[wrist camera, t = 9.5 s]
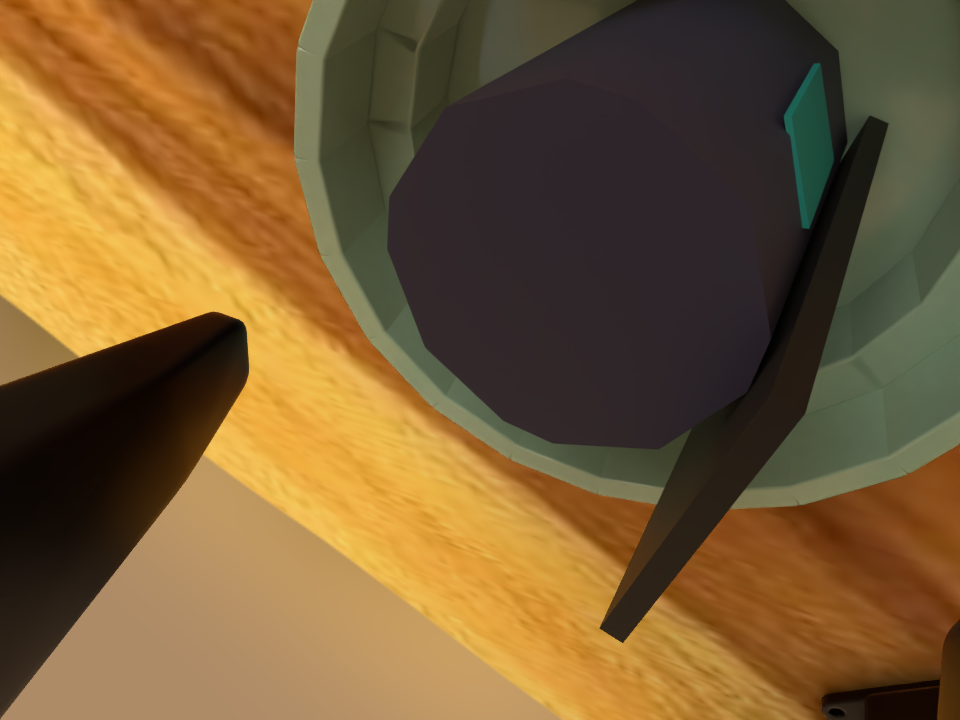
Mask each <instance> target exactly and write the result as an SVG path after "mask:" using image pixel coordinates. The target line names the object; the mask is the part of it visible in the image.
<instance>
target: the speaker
mask: <svg viewBox="0 0 960 720" xmlns="http://www.w3.org/2000/svg"><path fill="white" fill-rule="evenodd" d="M888 125H889V123H886V122H884V121H882V120H880V119H877V118H875V117H873V116H871V115H870V116H869V117H868V119H867V121H866V122H865V124H864V125H863V127H862V128H861V130H860V132H859V133H858V135H857V136H856V138H855V139H854V141H853V143H852V144H851V146H850V147H849V149H848V151H847V152H846V154H845V155H844V157H843V158H842V155H843V153H844V150H845V148H846V145H847V133H846V122H845V112H844V102H843V92H842V82H841V71H840V61H839V51H838V50H837V49H836V48H835V47H834V46H833V45H832V44H831V43H829V42H828V41H827V40H826V39H825V38H824V37H823V36H822V35H821V34H820V33H819V32H818V31H817V30H816V29H815V28H814V27H813V26H812V25H811V24H810V23H809V22H808V21H806V20H805V19H804V18H803V17H802V16H801V15H800V14H799V13H798V12H797V11H796V10H795V9H794V8H793V7H792V6H791V5H790V4H789V3H788V2H787V1H786V0H637V1H635V2H633V3H631V4H630V5H628V6H626V7H624V8H622V9H621V10H619V11H617V12H615V13H614V14H612V15H610V16H608V17H606V18H605V19H603V20H601V21H599V22H597V23H596V24H594V25H592V26H590V27H588V28H587V29H585V30H583V31H581V32H579V33H578V34H576V35H574V36H572V37H570V38H569V39H567V40H565V41H563V42H561V43H560V44H558V45H556V46H554V47H553V48H551V49H549V50H547V51H545V52H544V53H542V54H540V55H538V56H536V57H535V58H533V59H531V60H529V61H527V62H526V63H524V64H522V65H520V66H518V67H517V68H515V69H513V70H511V71H509V72H508V73H506V74H504V75H502V76H500V77H499V78H497V79H495V80H493V81H492V82H490V83H488V84H486V85H484V86H483V87H481V88H479V89H477V90H475V91H474V92H472V93H470V94H468V95H466V96H465V97H463V98H461V99H459V100H457V101H456V102H454V103H452V104H450V105H448V106H447V107H445V109H444V110H443V112H442V113H441V115H440V117H439V118H438V120H437V121H436V123H435V125H434V126H433V128H432V129H431V131H430V132H429V134H428V136H427V137H426V139H425V140H424V142H423V144H422V145H421V147H420V148H419V150H418V152H417V153H416V155H415V156H414V158H413V160H412V161H411V163H410V164H409V166H408V167H407V169H406V171H405V172H404V174H403V175H402V177H401V179H400V180H399V182H398V183H397V185H396V187H395V188H394V190H393V191H392V193H391V195H390V196H389V215H388V239H387V250H388V252H389V255H390V258H391V260H392V263H393V265H394V268H395V271H396V273H397V276H398V279H399V281H400V284H401V286H402V289H403V292H404V294H405V297H406V299H407V302H408V305H409V307H410V310H411V313H412V315H413V318H414V320H415V323H416V326H417V328H418V331H419V333H420V336H421V339H422V341H423V344H424V346H425V348H426V349H427V350H428V351H429V352H430V353H431V354H432V355H433V356H434V357H436V358H437V359H438V360H439V361H440V362H441V363H442V364H443V365H444V366H445V367H446V368H447V369H448V370H449V371H451V372H452V373H453V374H454V375H455V376H456V377H457V378H458V379H459V380H460V381H461V382H462V383H463V384H464V385H465V386H467V387H468V388H469V389H470V390H471V391H472V392H473V393H474V394H475V395H476V396H477V397H478V398H479V399H480V400H482V401H483V402H484V403H485V404H486V405H487V406H488V407H489V408H490V409H491V410H492V411H493V412H494V413H495V414H496V415H498V416H499V417H500V418H501V419H502V420H503V421H504V422H507V423H509V424H511V425H513V426H515V427H518V428H520V429H522V430H524V431H526V432H529V433H531V434H533V435H535V436H537V437H540V438H542V439H544V440H546V441H548V442H551V443H553V444H569V445H587V446H604V447H622V448H640V449H658V450H659V449H660V448H662V447H663V446H665V445H667V444H668V443H670V442H671V441H673V440H674V439H676V438H677V437H679V436H680V435H682V434H683V433H685V432H687V431H688V430H690V429H691V428H692V429H691V431H690V433H689V436H688V438H687V440H686V442H685V444H684V446H683V449H682V451H681V453H680V455H679V457H678V459H677V462H676V464H675V466H674V468H673V470H672V472H671V475H670V477H669V479H668V481H667V483H666V485H665V488H664V490H663V492H662V494H661V496H660V498H659V501H658V503H657V505H656V507H655V509H654V511H653V514H652V516H651V518H650V520H649V522H648V524H647V527H646V529H645V531H644V533H643V535H642V537H641V540H640V542H639V544H638V546H637V548H636V550H635V553H634V555H633V557H632V559H631V561H630V563H629V566H628V568H627V570H626V572H625V574H624V576H623V579H622V581H621V583H620V585H619V587H618V589H617V592H616V594H615V596H614V598H613V600H612V602H611V605H610V607H609V609H608V611H607V613H606V615H605V618H604V620H603V622H602V624H601V626H600V629H601V630H603V631H604V632H606V633H608V634H609V635H611V636H612V637H614V638H615V639H617V640H619V641H620V642H622V643H623V642H624V641H625V640H626V638H627V637H628V636H629V635H630V633H631V632H632V631H633V630H634V628H635V627H636V626H637V625H638V623H639V622H640V621H641V620H642V618H643V617H644V616H645V615H646V613H647V612H648V611H649V610H650V608H651V607H652V606H653V605H654V603H655V602H656V601H657V599H658V598H659V597H660V596H661V594H662V593H663V592H664V591H665V589H666V588H667V587H668V586H669V584H670V583H671V582H672V581H673V579H674V578H675V577H676V576H677V574H678V573H679V572H680V571H681V569H682V568H683V567H684V566H685V564H686V563H687V562H688V561H689V559H690V558H691V557H692V555H693V554H694V553H695V552H696V550H697V549H698V548H699V547H700V545H701V544H702V543H703V542H704V540H705V539H706V538H707V537H708V535H709V534H710V533H711V532H712V530H713V529H714V528H715V527H716V525H717V524H718V523H719V522H720V520H721V519H722V518H723V517H724V515H725V514H726V513H727V511H728V510H729V509H730V508H731V506H732V505H733V504H734V503H735V501H736V500H737V499H738V498H739V496H740V495H741V494H742V493H743V491H744V490H745V489H746V488H747V486H748V485H749V484H750V483H751V481H752V480H753V479H754V478H755V476H756V475H757V474H758V473H759V471H760V470H761V469H762V467H763V466H764V465H765V464H766V462H767V461H768V460H769V459H770V457H771V456H772V455H773V454H774V452H775V451H776V450H777V449H778V447H779V446H780V445H781V444H782V442H783V441H784V440H785V439H786V437H787V436H788V435H789V434H790V432H791V431H792V430H793V429H794V427H795V426H796V425H797V423H798V422H799V421H800V420H801V418H802V417H803V416H804V415H805V413H806V410H807V406H808V403H809V399H810V396H811V392H812V389H813V385H814V382H815V378H816V375H817V371H818V368H819V364H820V361H821V357H822V354H823V351H824V347H825V344H826V340H827V337H828V333H829V330H830V326H831V323H832V319H833V316H834V312H835V309H836V305H837V302H838V298H839V295H840V291H841V288H842V284H843V281H844V278H845V274H846V271H847V267H848V264H849V260H850V257H851V253H852V250H853V246H854V243H855V239H856V236H857V232H858V229H859V225H860V222H861V218H862V215H863V212H864V208H865V205H866V201H867V198H868V194H869V191H870V187H871V184H872V180H873V177H874V173H875V170H876V166H877V163H878V159H879V156H880V152H881V149H882V146H883V142H884V139H885V135H886V132H887V128H888ZM841 158H842V160H841ZM840 160H841V162H840Z"/></svg>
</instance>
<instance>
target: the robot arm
mask: <svg viewBox="0 0 960 720" xmlns="http://www.w3.org/2000/svg"><path fill="white" fill-rule="evenodd" d="M248 374H249V359H248V344H247V331H246V327H245V325H244V323H243V322H242V321H240V320H238V319H236V318H233V317H230V316H227V315H224V314H222V313H219V312H210V313H206V314H203V315H200V316H197V317H194V318H192V319H189V320H186V321H183V322H180V323H177V324H174V325H172V326H169V327H166V328H163V329H160V330H157V331H155V332H152V333H149V334H146V335H143V336H140V337H137V338H135V339H132V340H129V341H126V342H123V343H120V344H117V345H115V346H112V347H109V348H106V349H103V350H100V351H97V352H95V353H92V354H89V355H86V356H83V357H80V358H77V359H75V360H72V361H69V362H66V363H64V364H60V365H58V366H55V367H52V368H49V369H46V370H43V371H41V372H38V373H35V374H32V375H29V376H26V377H23V378H20V379H18V380H15V381H12V382H9V383H7V384H3V385H1V386H0V718H1V717H2V716H3V715H4V713H5V712H6V711H7V710H8V708H9V707H10V706H11V704H12V703H13V702H14V700H15V699H16V698H17V697H18V695H19V694H20V693H21V691H22V690H23V689H24V688H25V686H26V685H27V684H28V683H29V681H30V680H31V679H32V678H33V676H34V675H35V674H36V672H37V671H38V670H39V669H40V667H41V666H42V665H43V663H44V662H45V661H46V660H47V658H48V657H49V656H50V655H51V653H52V652H53V651H54V649H55V648H56V647H57V646H58V644H59V643H60V642H61V640H62V639H63V638H64V637H65V635H66V634H67V632H68V631H69V630H70V629H71V628H72V626H73V625H74V624H75V622H76V621H77V620H78V619H79V617H80V616H81V615H82V614H83V612H84V611H85V610H86V608H87V607H88V606H89V605H90V603H91V602H92V601H93V600H94V598H95V597H96V596H97V594H98V593H99V592H100V591H101V589H102V588H103V587H104V585H105V584H106V583H107V582H108V580H109V579H110V578H111V577H112V575H113V574H114V573H115V571H116V570H117V569H118V568H119V566H120V565H121V564H122V562H123V561H124V560H125V559H126V557H127V556H128V555H129V554H130V552H131V551H132V550H133V548H134V547H135V546H136V545H137V543H138V542H139V541H140V539H141V538H142V537H143V536H144V534H145V533H146V532H147V530H148V529H149V528H150V527H151V525H152V524H153V523H154V522H155V520H156V519H157V518H158V516H159V515H160V514H161V513H162V511H163V510H164V509H165V507H166V506H167V505H168V504H169V502H170V501H171V500H172V499H173V497H174V496H175V495H176V493H177V492H178V491H179V489H180V488H181V487H182V485H183V484H184V482H185V481H186V480H187V478H188V477H189V475H190V473H191V472H192V470H193V469H194V467H195V466H196V464H197V463H198V461H199V459H200V458H201V456H202V455H203V453H204V451H205V450H206V448H207V446H208V445H209V443H210V442H211V440H212V438H213V437H214V435H215V433H216V432H217V430H218V429H219V427H220V425H221V424H222V422H223V420H224V419H225V417H226V415H227V414H228V412H229V411H230V409H231V407H232V406H233V404H234V402H235V401H236V399H237V398H238V396H239V394H240V393H241V391H242V389H243V388H244V386H245V384H246V381H247V378H248ZM822 713H823V714H824V715H825V717H826V718H827V719H828V720H960V620H959V621H958V622H957V623H956V624H955V625H954V626H953V627H952V628H951V629H950V630H949V632H948V634H947V636H946V638H945V641H944V645H943V652H942V664H941V677H940V680H935V681H927V682H919V683H911V684H903V685H895V686H887V687H879V688H871V689H863V690H855V691H847V692H839V693H831V694H827V695H824V696H823V697H822Z"/></svg>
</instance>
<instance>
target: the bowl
mask: <svg viewBox="0 0 960 720" xmlns="http://www.w3.org/2000/svg"><path fill="white" fill-rule="evenodd" d="M635 1H637V0H313V1H312V4H311V7H310V9H309V12H308V15H307V18H306V21H305V24H304V27H303V29H302V32H301V35H300V38H299V41H298V48H297V54H296V93H295V131H294V156H295V164H296V168H297V171H298V175H299V179H300V183H301V186H302V190H303V194H304V198H305V202H306V205H307V209H308V213H309V217H310V220H311V224H312V228H313V232H314V235H315V239H316V243H317V247H318V251H319V254H320V255H322V256H321V259H322V261H323V262H324V264H325V266H326V268H327V269H328V271H329V273H330V275H331V276H332V278H333V280H334V282H335V283H336V285H337V287H338V289H339V290H340V292H341V294H342V296H343V297H344V299H345V301H346V303H347V304H348V306H349V308H350V310H351V311H352V313H353V315H354V317H355V318H356V320H357V322H358V324H359V325H360V327H361V329H362V331H363V332H364V334H365V336H366V337H367V338H368V339H369V341H370V343H371V344H372V345H373V346H374V347H375V348H376V349H377V350H378V351H379V352H380V353H381V354H382V355H383V356H384V357H385V359H386V360H387V361H388V362H389V363H390V364H391V365H392V366H393V367H394V368H395V369H396V370H397V371H398V372H399V373H400V374H401V375H402V377H403V378H404V379H405V380H406V381H407V382H408V383H409V384H410V385H411V386H412V387H413V388H414V389H415V390H416V391H417V392H418V393H419V395H420V396H421V397H422V398H423V399H424V400H425V401H426V402H427V403H428V404H429V405H430V406H433V408H434V409H435V410H436V411H438V412H439V413H441V414H442V415H444V416H445V417H447V418H448V419H450V420H451V421H453V422H454V423H456V424H457V425H459V426H460V427H461V428H463V429H464V430H466V431H467V432H469V433H470V434H472V435H473V436H475V437H476V438H478V439H479V440H481V441H482V442H484V443H485V444H487V445H488V446H490V447H491V448H493V449H494V450H496V451H497V452H499V453H500V454H502V455H503V456H505V457H506V458H510V460H511V461H514V462H516V463H519V464H521V465H524V466H526V467H529V468H531V469H534V470H536V471H539V472H541V473H544V474H546V475H549V476H551V477H554V478H556V479H559V480H561V481H564V482H566V483H569V484H571V485H574V486H576V487H579V488H581V489H584V490H586V491H589V492H592V493H594V494H597V493H598V495H601V496H607V497H613V498H619V499H625V500H631V501H637V502H643V503H649V504H655V505H657V503H658V501H659V498H660V496H661V494H662V492H663V490H664V488H665V485H666V483H667V481H668V479H669V477H670V475H671V472H672V470H673V468H674V466H675V464H676V462H677V459H678V457H679V455H680V453H681V451H682V449H683V446H684V444H685V442H686V440H687V438H688V436H689V433H690V431H691V429H692V428H691V429H690V430H688V431H687V432H685V433H683V434H682V435H680V436H679V437H677V438H676V439H674V440H673V441H671V442H670V443H668V444H667V445H665V446H663V447H662V448H660V449H659V450H658V449H640V448H622V447H604V446H587V445H569V444H553V443H551V442H548V441H546V440H544V439H542V438H540V437H537V436H535V435H533V434H531V433H529V432H526V431H524V430H522V429H520V428H518V427H515V426H513V425H511V424H509V423H507V422H504V421H503V420H502V419H501V418H500V417H499V416H498V415H496V414H495V413H494V412H493V411H492V410H491V409H490V408H489V407H488V406H487V405H486V404H485V403H484V402H483V401H482V400H480V399H479V398H478V397H477V396H476V395H475V394H474V393H473V392H472V391H471V390H470V389H469V388H468V387H467V386H465V385H464V384H463V383H462V382H461V381H460V380H459V379H458V378H457V377H456V376H455V375H454V374H453V373H452V372H451V371H449V370H448V369H447V368H446V367H445V366H444V365H443V364H442V363H441V362H440V361H439V360H438V359H437V358H436V357H434V356H433V355H432V354H431V353H430V352H429V351H428V350H427V349H426V348H425V346H424V344H423V341H422V339H421V336H420V333H419V331H418V328H417V326H416V323H415V320H414V318H413V315H412V313H411V310H410V307H409V305H408V302H407V299H406V297H405V294H404V292H403V289H402V286H401V284H400V281H399V279H398V276H397V273H396V271H395V268H394V265H393V263H392V260H391V258H390V255H389V252H388V250H387V239H388V215H389V196H390V195H391V193H392V191H393V190H394V188H395V187H396V185H397V183H398V182H399V180H400V179H401V177H402V175H403V174H404V172H405V171H406V169H407V167H408V166H409V164H410V163H411V161H412V160H413V158H414V156H415V155H416V153H417V152H418V150H419V148H420V147H421V145H422V144H423V142H424V140H425V139H426V137H427V136H428V134H429V132H430V131H431V129H432V128H433V126H434V125H435V123H436V121H437V120H438V118H439V117H440V115H441V113H442V112H443V110H444V109H445V107H447V106H448V105H450V104H452V103H454V102H456V101H457V100H459V99H461V98H463V97H465V96H466V95H468V94H470V93H472V92H474V91H475V90H477V89H479V88H481V87H483V86H484V85H486V84H488V83H490V82H492V81H493V80H495V79H497V78H499V77H500V76H502V75H504V74H506V73H508V72H509V71H511V70H513V69H515V68H517V67H518V66H520V65H522V64H524V63H526V62H527V61H529V60H531V59H533V58H535V57H536V56H538V55H540V54H542V53H544V52H545V51H547V50H549V49H551V48H553V47H554V46H556V45H558V44H560V43H561V42H563V41H565V40H567V39H569V38H570V37H572V36H574V35H576V34H578V33H579V32H581V31H583V30H585V29H587V28H588V27H590V26H592V25H594V24H596V23H597V22H599V21H601V20H603V19H605V18H606V17H608V16H610V15H612V14H614V13H615V12H617V11H619V10H621V9H622V8H624V7H626V6H628V5H630V4H631V3H633V2H635ZM786 1H787V2H788V3H789V4H790V5H791V6H792V7H793V8H794V9H795V10H796V11H797V12H798V13H799V14H800V15H801V16H802V17H803V18H804V19H805V20H806V21H808V22H809V23H810V24H811V25H812V26H813V27H814V28H815V29H816V30H817V31H818V32H819V33H820V34H821V35H822V36H823V37H824V38H825V39H826V40H827V41H828V42H829V43H831V44H832V45H833V46H834V47H835V48H836V49H837V50H838V51H839V61H840V71H841V82H842V92H843V102H844V112H845V122H846V133H847V145H846V148H845V150H844V153H843V155H842V158H843V157H844V155H845V154H846V152H847V151H848V149H849V147H850V146H851V144H852V143H853V141H854V139H855V138H856V136H857V135H858V133H859V132H860V130H861V128H862V127H863V125H864V124H865V122H866V121H867V119H868V117H869V116H870V115H871V116H873V117H875V118H877V119H880V120H882V121H884V122H886V123H889V125H888V128H887V132H886V135H885V139H884V142H883V146H882V149H881V152H880V156H879V159H878V163H877V166H876V170H875V173H874V177H873V180H872V184H871V187H870V191H869V194H868V198H867V201H866V205H865V208H864V212H863V215H862V218H861V222H860V225H859V229H858V232H857V236H856V239H855V243H854V246H853V250H852V253H851V257H850V260H849V264H848V267H847V271H846V274H845V278H844V281H843V284H842V288H841V291H840V295H839V298H838V302H837V305H836V309H835V312H834V316H833V319H832V323H831V326H830V330H829V333H828V337H827V340H826V344H825V347H824V351H823V354H822V357H821V361H820V364H819V368H818V371H817V375H816V378H815V382H814V385H813V389H812V392H811V396H810V399H809V403H808V406H807V410H806V413H805V415H804V416H803V417H802V418H801V420H800V421H799V422H798V423H797V425H796V426H795V427H794V429H793V430H792V431H791V432H790V434H789V435H788V436H787V437H786V439H785V440H784V441H783V442H782V444H781V445H780V446H779V447H778V449H777V450H776V451H775V452H774V454H773V455H772V456H771V457H770V459H769V460H768V461H767V462H766V464H765V465H764V466H763V467H762V469H761V470H760V471H759V473H758V474H757V475H756V476H755V478H754V479H753V480H752V481H751V483H750V484H749V485H748V486H747V488H746V489H745V490H744V491H743V493H742V494H741V495H740V496H739V498H738V499H737V500H736V501H735V503H734V504H733V505H732V506H731V508H730V509H747V508H768V507H789V506H798V504H799V505H805V504H809V503H812V502H816V501H819V500H823V499H826V498H830V497H833V496H837V495H840V494H844V493H847V492H851V491H854V490H858V489H861V488H865V487H868V486H872V485H875V484H879V483H882V482H886V481H889V480H893V479H896V478H900V477H903V476H906V475H907V473H908V474H910V473H912V472H914V471H916V470H917V469H919V468H921V467H922V466H924V465H926V464H927V463H929V462H931V461H932V460H934V459H936V458H938V457H939V456H941V455H943V454H944V453H946V452H948V451H949V450H951V449H953V448H954V447H956V446H958V445H960V0H786ZM842 158H841V160H842ZM841 160H840V162H841Z"/></svg>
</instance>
